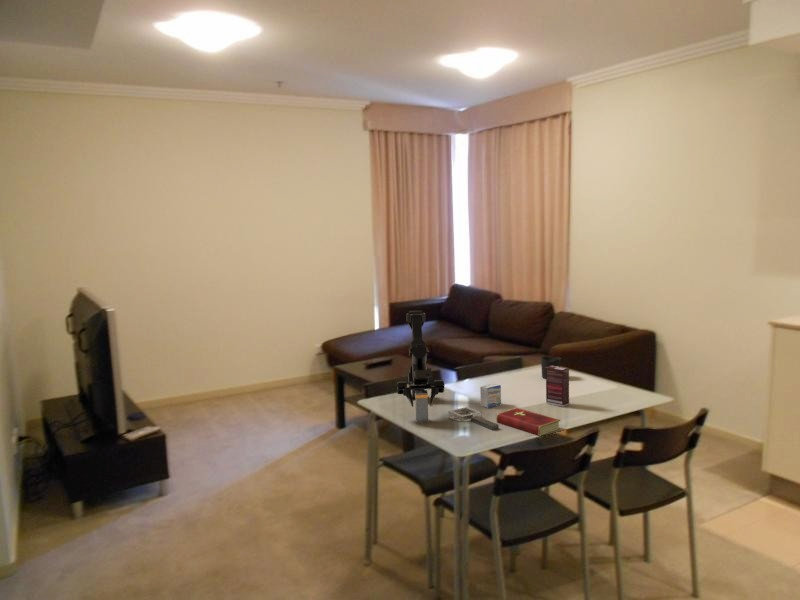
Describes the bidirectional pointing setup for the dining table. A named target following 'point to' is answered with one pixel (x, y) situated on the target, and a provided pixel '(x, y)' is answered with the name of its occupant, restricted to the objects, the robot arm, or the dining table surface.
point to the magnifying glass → (471, 417)
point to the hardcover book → (528, 421)
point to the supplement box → (557, 386)
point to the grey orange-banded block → (421, 406)
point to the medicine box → (490, 395)
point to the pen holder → (549, 363)
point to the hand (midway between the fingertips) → (421, 406)
